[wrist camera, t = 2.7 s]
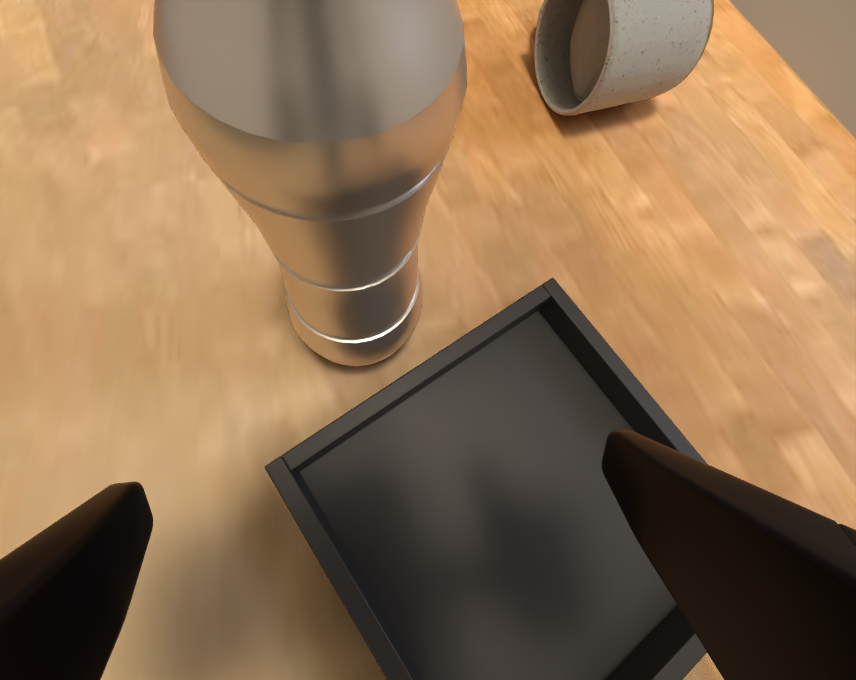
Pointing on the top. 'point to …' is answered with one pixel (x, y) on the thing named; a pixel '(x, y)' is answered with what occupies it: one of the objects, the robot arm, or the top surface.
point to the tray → (494, 510)
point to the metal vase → (325, 144)
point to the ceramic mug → (616, 50)
